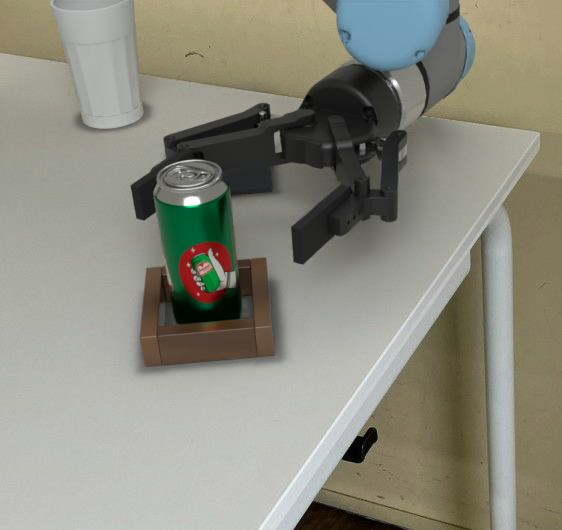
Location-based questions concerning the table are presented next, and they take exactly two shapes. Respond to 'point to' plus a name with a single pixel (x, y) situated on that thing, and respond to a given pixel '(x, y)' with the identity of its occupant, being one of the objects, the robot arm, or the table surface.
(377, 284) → the table surface
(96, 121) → the cup
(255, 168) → the mat
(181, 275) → the soda can
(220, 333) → the collar stand
